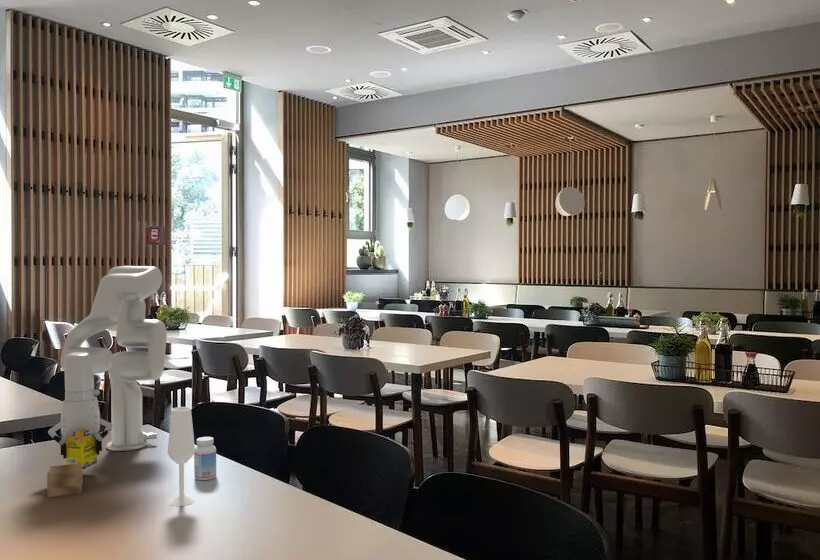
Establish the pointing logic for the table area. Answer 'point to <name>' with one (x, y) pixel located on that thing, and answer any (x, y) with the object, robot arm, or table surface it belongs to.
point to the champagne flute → (181, 448)
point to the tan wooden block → (64, 480)
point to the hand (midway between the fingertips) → (81, 455)
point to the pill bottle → (205, 459)
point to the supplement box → (81, 449)
